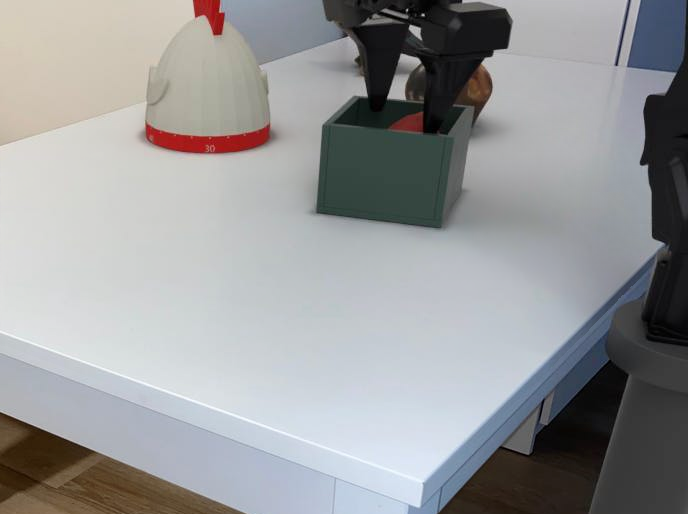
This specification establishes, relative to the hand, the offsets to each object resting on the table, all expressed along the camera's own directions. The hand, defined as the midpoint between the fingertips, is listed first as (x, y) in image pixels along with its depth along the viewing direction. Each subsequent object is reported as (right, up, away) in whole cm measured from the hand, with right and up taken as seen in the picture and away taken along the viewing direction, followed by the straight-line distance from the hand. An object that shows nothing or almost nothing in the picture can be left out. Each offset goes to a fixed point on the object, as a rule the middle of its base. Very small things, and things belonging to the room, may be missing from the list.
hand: (401, 122), depth 88 cm
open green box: (0, -5, +6) cm, 7 cm away
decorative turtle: (+10, +11, +26) cm, 30 cm away
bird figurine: (+6, +29, +50) cm, 59 cm away
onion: (0, -5, +4) cm, 6 cm away
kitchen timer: (-17, +9, +23) cm, 30 cm away
